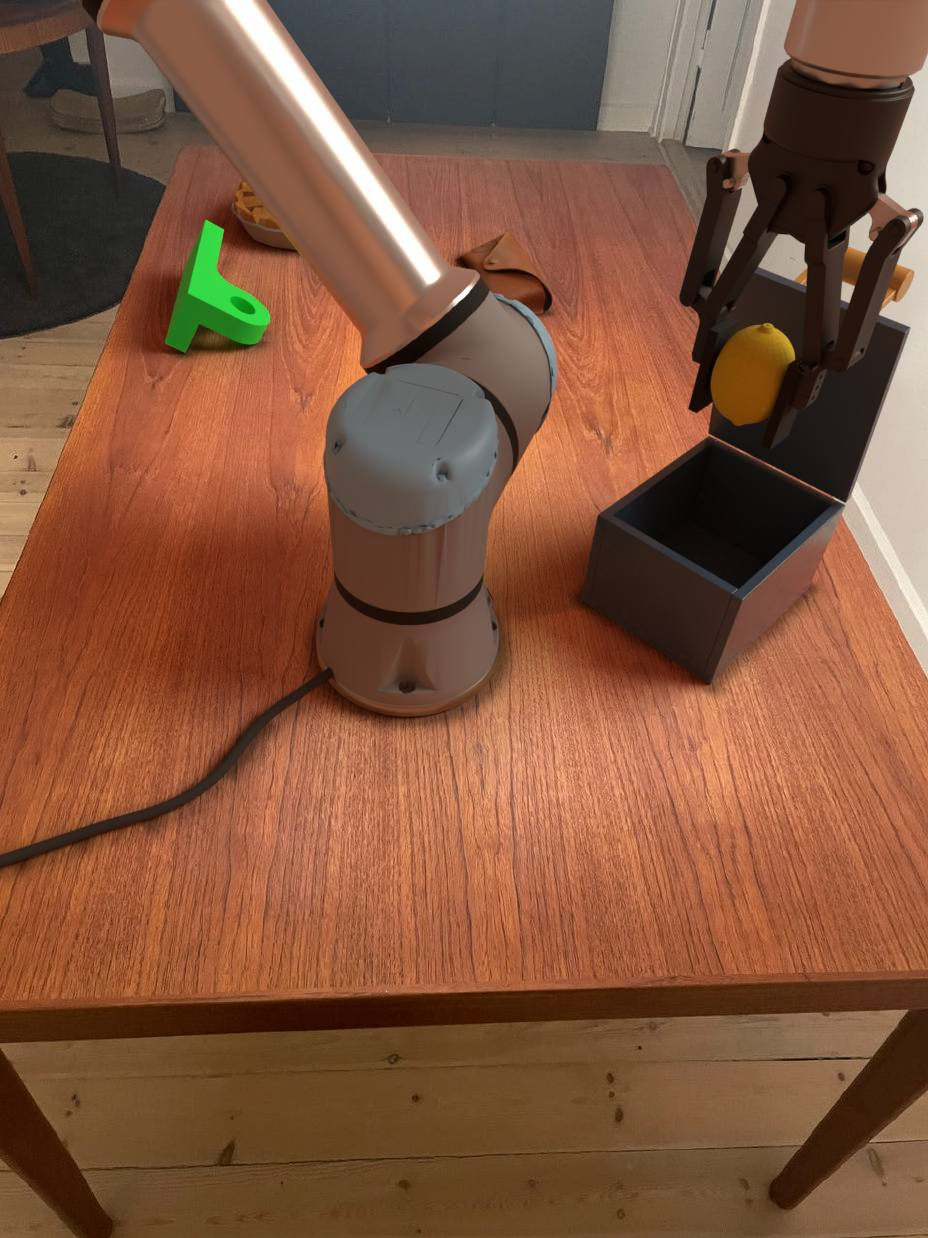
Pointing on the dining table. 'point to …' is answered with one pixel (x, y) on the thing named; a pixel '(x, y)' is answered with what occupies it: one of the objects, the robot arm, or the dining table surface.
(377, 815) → the dining table surface
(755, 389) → the lemon
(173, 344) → the green corner bracket
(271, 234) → the pie
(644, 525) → the tin
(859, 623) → the dining table surface
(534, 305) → the sunglasses case
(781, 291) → the tin lid
